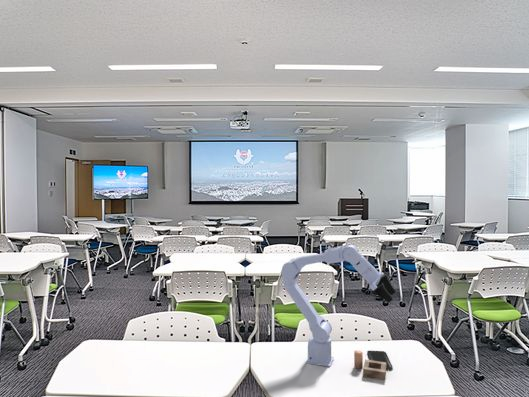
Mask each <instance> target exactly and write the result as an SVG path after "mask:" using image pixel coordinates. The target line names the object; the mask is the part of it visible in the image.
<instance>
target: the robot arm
mask: <svg viewBox="0 0 529 397" xmlns="http://www.w3.org/2000/svg"><path fill="white" fill-rule="evenodd" d="M321 262H322V263H323V262H325V263H326V264H329V265H330V264H331V265H332V264H336V263H342V262H347V263H349V264H350V265H351V266H352V267H353V268H354V269H355V270H356V271H357V272H358V273H359V275H361V277H362V278H363V279H364V280H365V281H366V282H367V283H368V285H369V288H370V290H371V291H370V293H371V294H372V295H373V296H374V295H375V296H377V297H379V298H381V299H382V300H383V301H385V302H387V303H388V304H389V303H390V302H392V301H393V300H394V299H393V297H392V295H394V294H395V293H396V289H395V288H394V286H393V285H392V283H391V281H390V279H389V275H388V274H387V273H386V274H384V272H383V271H382V272H381V271H378V270H377V269H376V268H375V267H374V266H373V265H372V264H371V262H370V261H368V260H367V258H366V257H365V256H363V254H362V253H360V252H359V249H358V247H356V246H355V245H353V244H346V245H345V246H344V245H341V246H339V247H334V248H332V247H331V246H330V247H328V248H327V249H325V250H324V252H322V253H315V254H309V255H301V256H298V257H296V258H291V259H290V260H289V261H287V262H285V263H284V264H283V265H282V268H281V271H280V274H281V275H282V276H281V278H282V283H283V285H282V286H283V287H284V290H285V291H286V292H287V293H288V295H289V296H290V298H291V299H292V301H293V302H294V304H295V306H297V309H298V310H299V311H300V312H301V314H302V315H303V317H304V318H305V320H306V321H307V322H308V327H309V330H310V332H311V334H312V337H309V338H308V343H307V362H306V363H307V364H309V365H310V364H311V365H317V366H323V367H331V366H332V364H333V361H334V358H335V357H334V356H332V337H331V336H330V334H331V332H332V330H333V329H332V324H331V322H329V321H328V320H326V319H325V318H324V316H322V315H319V313H318V312H317V310H316V309H315V307H314V306H313V304H312V303H311V302H310V300H309V299H308V297H307V296H306V295H305V293H304V291H303V290H302V289H301V288H300V286H299V285H298V283H297V282H298V278H299V275H300V273H301V270H302V269H303V268H304V267H305V266H308V265H312V264H318V263H321Z"/></svg>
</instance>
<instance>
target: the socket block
mask: <svg viewBox="0 0 529 397" xmlns="http://www.w3.org/2000/svg"><path fill="white" fill-rule="evenodd" d="M362 376H363V377H364V378H369V379H374V380H381V381H386V379H387V378H386V376H387V370H386V362H379V361H373V360H369V359H364V364H363V368H362Z"/></svg>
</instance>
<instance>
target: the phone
mask: <svg viewBox="0 0 529 397" xmlns="http://www.w3.org/2000/svg"><path fill="white" fill-rule="evenodd" d="M366 352H367V356H368V360H373V361H379V362H386V371H393V369H394V368H393V364H392V363H391V360H390V359H389V356H388V354H387V352H386V351H383V350H367V351H366Z"/></svg>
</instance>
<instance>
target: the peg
mask: <svg viewBox="0 0 529 397" xmlns="http://www.w3.org/2000/svg"><path fill="white" fill-rule="evenodd" d="M363 355H364V354H363V351H362V350H358V349H357V350H354V352H353V356H354V358H353V359H354V363H353V364H354V369H357V370H363V367H364V364H363V361H364V360H363V358H364V356H363Z"/></svg>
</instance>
